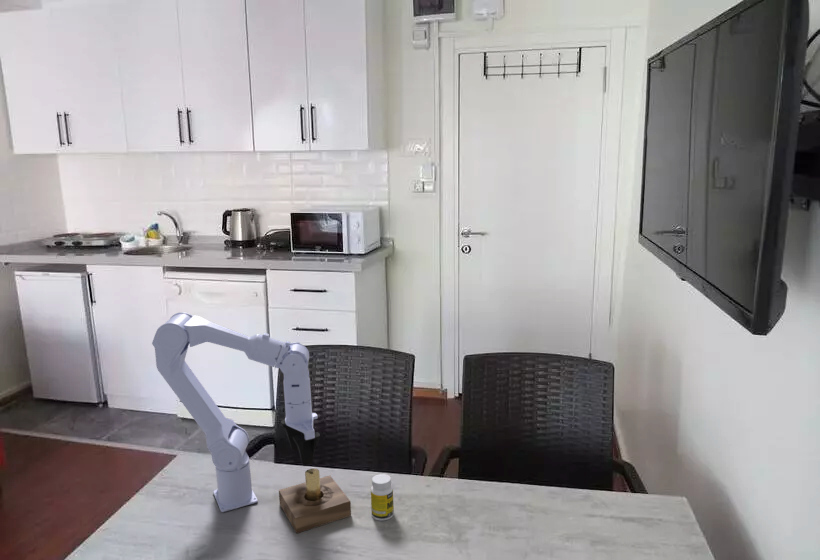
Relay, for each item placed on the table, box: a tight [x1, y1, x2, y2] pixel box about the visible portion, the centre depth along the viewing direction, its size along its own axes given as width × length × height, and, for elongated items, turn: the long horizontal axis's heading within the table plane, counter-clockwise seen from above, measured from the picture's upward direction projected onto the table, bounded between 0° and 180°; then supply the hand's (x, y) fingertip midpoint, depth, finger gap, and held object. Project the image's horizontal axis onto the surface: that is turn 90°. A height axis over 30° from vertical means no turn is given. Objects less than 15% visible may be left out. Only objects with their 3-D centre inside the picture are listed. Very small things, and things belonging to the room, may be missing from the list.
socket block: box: [278, 475, 352, 534], centre depth 130 cm, size 12×12×4 cm
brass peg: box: [304, 468, 321, 501], centre depth 129 cm, size 3×3×8 cm
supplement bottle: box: [370, 473, 394, 522], centre depth 127 cm, size 5×5×8 cm
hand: (301, 456), depth 134 cm, fingers open, 7 cm apart
